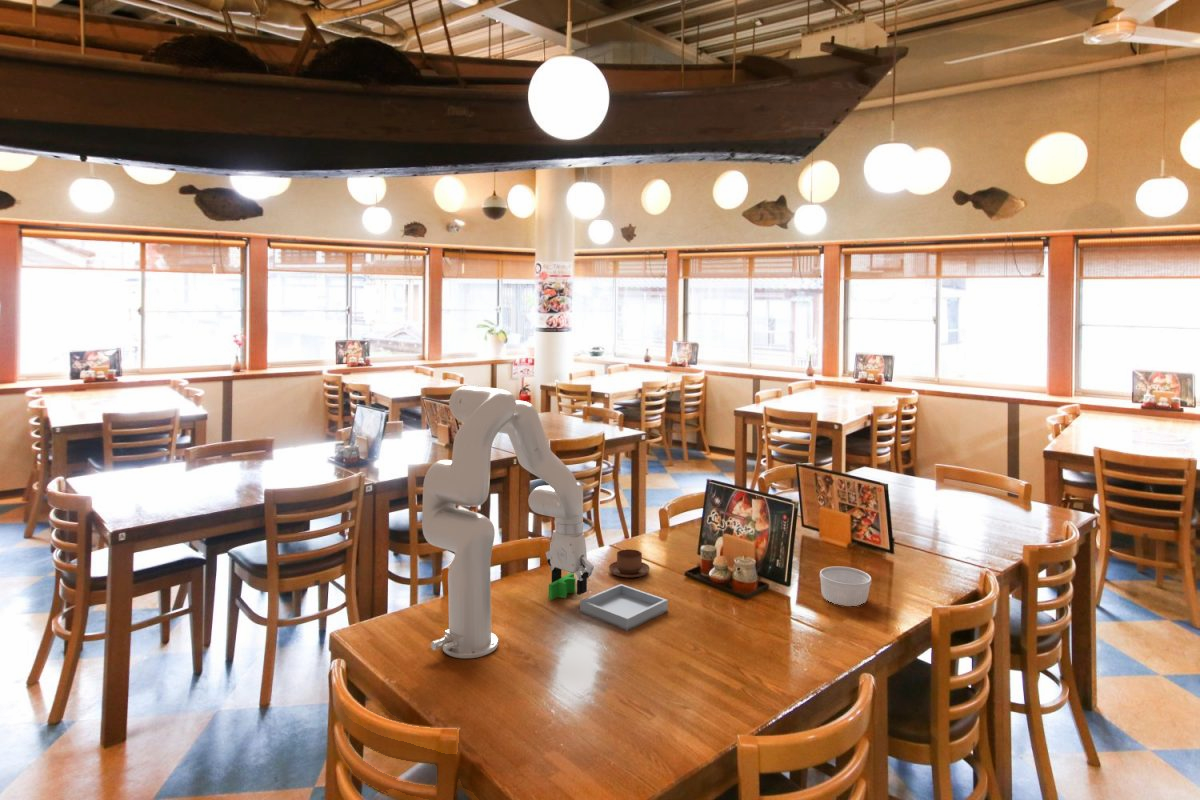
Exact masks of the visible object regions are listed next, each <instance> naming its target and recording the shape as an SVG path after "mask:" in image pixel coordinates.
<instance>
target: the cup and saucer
mask: <svg viewBox="0 0 1200 800" xmlns="http://www.w3.org/2000/svg"><path fill="white" fill-rule="evenodd" d="M642 553H643V552H641V551H639V550H636V549H629V548H627V549H621V550H618V551H617V553H616V561H614V562H612V563H610V564H609V565H608V569H609V571H610V572H611V573H612V574H613V575H615V576H617V577H621V578H629V579H631V578H638V577H639V578H640V577H642V576H645V575H646V574H648V573H649V571H650V568H651V567H650V566H649V564H647V563H645V562H642V560H643V557H642V556H643V554H642Z"/></svg>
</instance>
